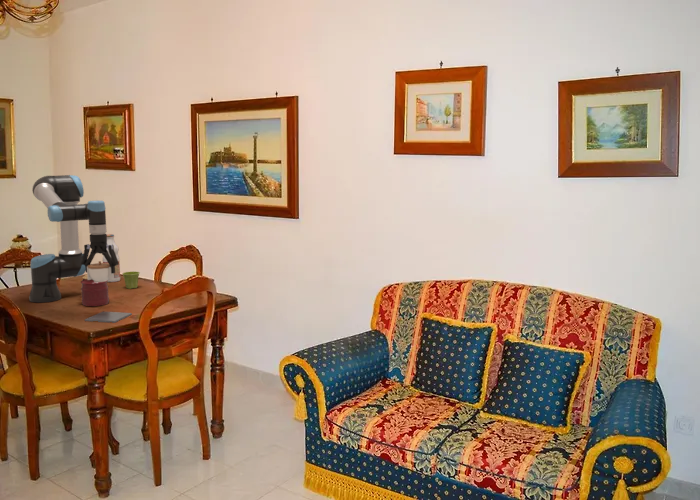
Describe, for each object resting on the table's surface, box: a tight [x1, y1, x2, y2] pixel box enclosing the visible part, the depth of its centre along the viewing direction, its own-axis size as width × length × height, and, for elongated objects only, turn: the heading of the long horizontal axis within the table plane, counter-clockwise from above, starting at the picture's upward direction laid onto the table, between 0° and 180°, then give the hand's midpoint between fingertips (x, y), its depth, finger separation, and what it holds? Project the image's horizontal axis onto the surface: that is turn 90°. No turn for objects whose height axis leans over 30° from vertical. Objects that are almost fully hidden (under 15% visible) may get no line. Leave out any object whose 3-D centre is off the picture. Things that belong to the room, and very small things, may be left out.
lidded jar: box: [88, 261, 110, 282], centre depth 301 cm, size 11×11×9 cm
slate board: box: [84, 310, 133, 324], centre depth 299 cm, size 15×15×1 cm
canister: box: [80, 273, 110, 307], centre depth 325 cm, size 13×13×18 cm
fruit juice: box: [102, 233, 121, 283], centre depth 382 cm, size 9×9×28 cm
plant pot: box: [122, 271, 141, 290], centre depth 364 cm, size 9×9×9 cm
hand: (100, 279), depth 301 cm, fingers closed on lidded jar, 11 cm apart
